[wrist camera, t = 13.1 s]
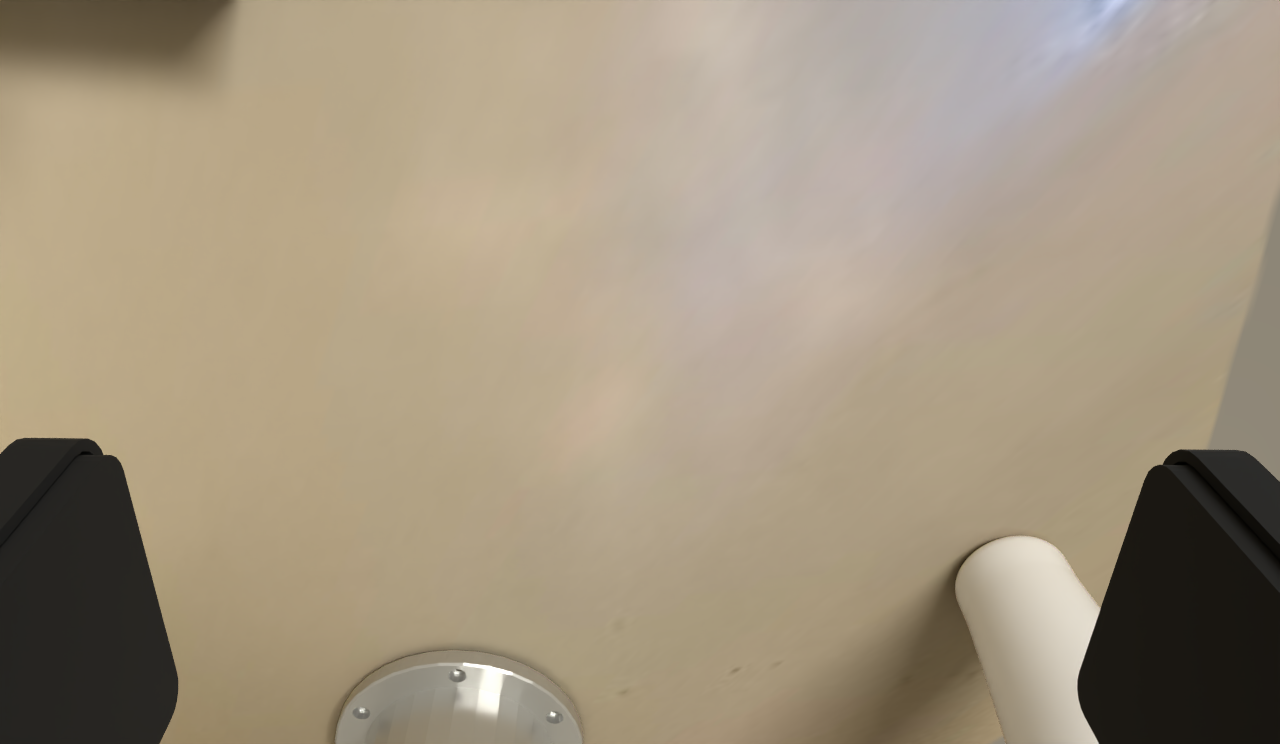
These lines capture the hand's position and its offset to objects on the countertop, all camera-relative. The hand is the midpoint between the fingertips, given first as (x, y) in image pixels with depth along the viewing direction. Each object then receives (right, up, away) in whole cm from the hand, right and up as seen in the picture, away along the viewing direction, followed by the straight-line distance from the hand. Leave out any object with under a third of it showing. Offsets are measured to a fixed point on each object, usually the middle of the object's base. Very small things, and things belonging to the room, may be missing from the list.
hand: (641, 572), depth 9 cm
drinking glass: (+17, -8, +38) cm, 42 cm away
